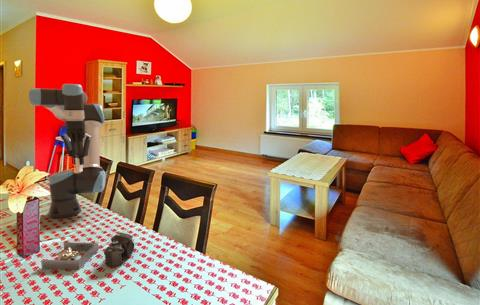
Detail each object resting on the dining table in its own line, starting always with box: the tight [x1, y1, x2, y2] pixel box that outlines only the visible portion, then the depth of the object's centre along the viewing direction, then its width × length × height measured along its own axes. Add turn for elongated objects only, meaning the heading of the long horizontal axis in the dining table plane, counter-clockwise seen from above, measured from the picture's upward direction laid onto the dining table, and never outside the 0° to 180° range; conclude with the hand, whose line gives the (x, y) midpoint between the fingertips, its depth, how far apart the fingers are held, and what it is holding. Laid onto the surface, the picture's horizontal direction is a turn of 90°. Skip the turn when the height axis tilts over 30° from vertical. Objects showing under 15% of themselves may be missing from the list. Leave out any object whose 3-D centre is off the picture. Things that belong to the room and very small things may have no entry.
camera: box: [103, 231, 135, 268], centre depth 111 cm, size 13×10×10 cm
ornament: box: [57, 248, 79, 260], centre depth 110 cm, size 8×7×4 cm
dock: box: [40, 242, 100, 271], centre depth 111 cm, size 14×14×3 cm
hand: (79, 171), depth 128 cm, fingers closed
